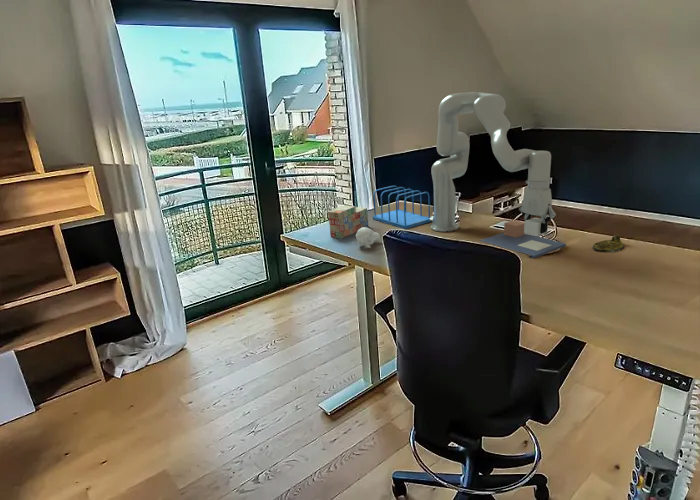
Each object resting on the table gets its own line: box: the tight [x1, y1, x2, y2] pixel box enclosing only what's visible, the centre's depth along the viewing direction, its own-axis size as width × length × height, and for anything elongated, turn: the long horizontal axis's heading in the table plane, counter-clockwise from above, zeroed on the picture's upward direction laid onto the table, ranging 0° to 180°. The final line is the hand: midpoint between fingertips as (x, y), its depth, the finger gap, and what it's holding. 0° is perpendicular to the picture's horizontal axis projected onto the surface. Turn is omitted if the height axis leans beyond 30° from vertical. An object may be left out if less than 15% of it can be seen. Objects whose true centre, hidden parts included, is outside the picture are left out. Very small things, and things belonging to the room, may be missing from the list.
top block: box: [503, 219, 526, 238], centre depth 198 cm, size 6×6×5 cm
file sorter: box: [372, 185, 432, 230], centre depth 231 cm, size 25×17×15 cm
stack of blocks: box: [328, 204, 369, 239], centre depth 220 cm, size 21×6×12 cm, turn 142°
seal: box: [592, 233, 625, 253], centre depth 179 cm, size 9×5×15 cm
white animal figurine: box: [355, 227, 381, 249], centre depth 200 cm, size 6×8×12 cm
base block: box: [524, 217, 549, 237], centre depth 182 cm, size 6×6×5 cm
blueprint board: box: [478, 232, 567, 259], centre depth 189 cm, size 26×20×1 cm
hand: (535, 230), depth 182 cm, fingers closed on base block, 6 cm apart
